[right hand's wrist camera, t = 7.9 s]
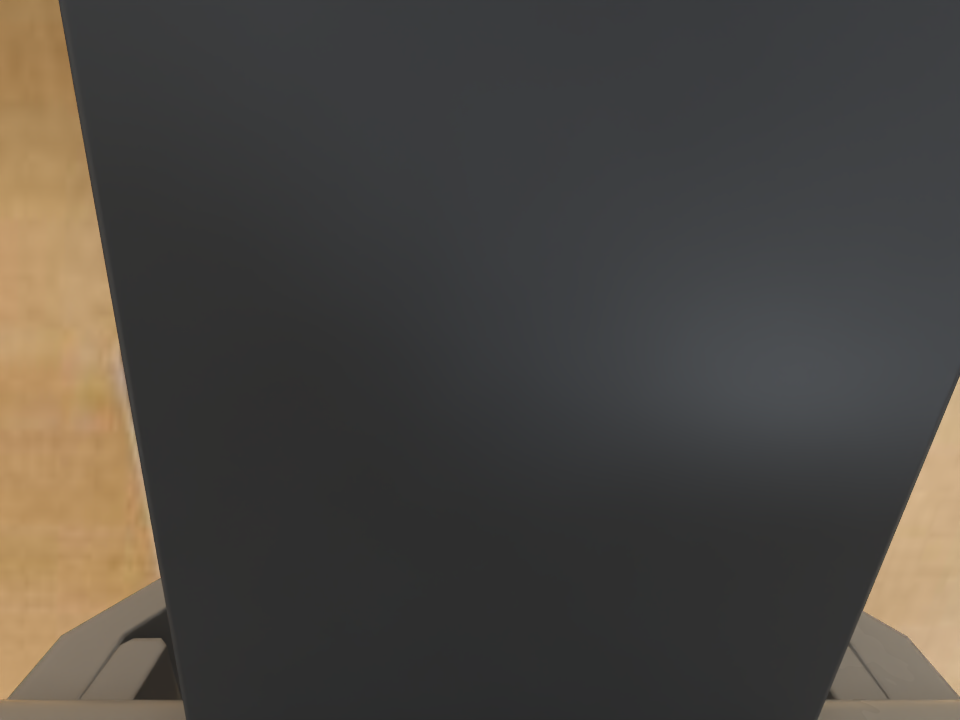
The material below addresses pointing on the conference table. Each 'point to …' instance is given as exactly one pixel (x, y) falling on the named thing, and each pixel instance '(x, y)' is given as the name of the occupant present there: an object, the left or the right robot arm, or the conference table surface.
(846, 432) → the bar
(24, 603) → the conference table surface
